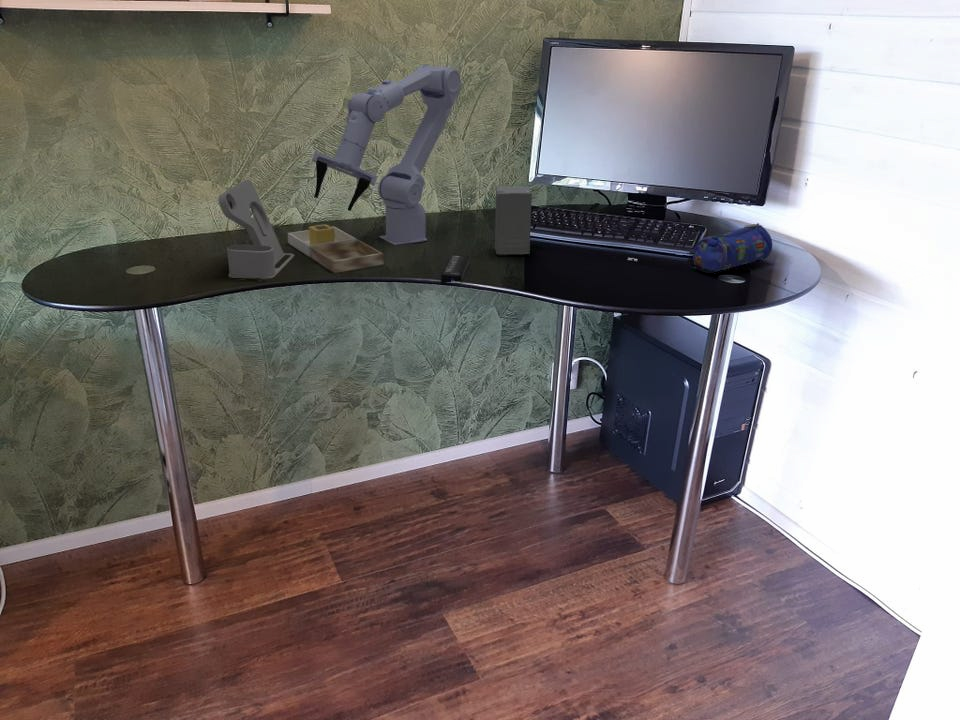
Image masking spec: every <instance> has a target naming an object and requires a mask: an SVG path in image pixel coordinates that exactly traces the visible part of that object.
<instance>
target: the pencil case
mask: <svg viewBox="0 0 960 720" xmlns="http://www.w3.org/2000/svg"><path fill="white" fill-rule="evenodd" d="M772 250H773V240H772V237H771V234H770V233H769V232H768V231H767V229H766V228H765V227H763V225H760V223H758V222H757V223H753V224H749V225H744V227H741V228H739V229H734V230H731V231H728V232H726V233H723V234H717V235H711V236H707V237H706V236H705V237H703V238H702V239H699V240H698V242H696V245H695V246H694V249H693V253H692V258H693V259H692V260H693V263H694V266H695V265H698V266H700V267H702V268H705V269H709V270H713V271H716V272H717V271H720V270H725V271H727V270H726V269H728V270H730V269H729V268H732V267H736V266H739V265H743V264H746V265H748V264H747V263H749V264H752V263H755V262H757V261H756V260H760V259H761V258H765V259H767V258H768V257H769V256H770V254H771V252H772ZM760 261H761V260H760ZM743 266H744V265H743ZM739 267H740V266H739ZM736 268H737V267H736ZM732 269H733V268H732ZM720 272H721V271H720Z"/></svg>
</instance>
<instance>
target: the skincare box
mask: <svg viewBox="0 0 960 720" xmlns="http://www.w3.org/2000/svg"><path fill="white" fill-rule="evenodd" d="M495 189H496V190H495V228H494V229H495V231H494V233H495V234H494V237H495V238H494V249H495V254H530V252H531V251H530V250H531V245H530V244H531V228H532V227H531V225H532V224H531V221H532V220H531V219H532V196H533V193H532V190H531V187H530V185H517V186H516V185H515V186H514V185H512V186H511V185H510V186H509V185H508V186H507V185H502V186H501V185H498V186H497V185H496V186H495ZM530 255H531V254H530Z"/></svg>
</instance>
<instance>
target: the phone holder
mask: <svg viewBox="0 0 960 720" xmlns="http://www.w3.org/2000/svg"><path fill="white" fill-rule="evenodd" d="M217 198H218V204H219V207H220V209H221V211H222V214H223V215H224V217H226V218H227V219H229V220H231V221H232V222H234V223H235V224H237V225H239V226H241V227H242V228H244V229H245V230H246V232H247V233H248V235H249V237H250V239H251V242H252V244H243V243H241V244H239V243H238V244H232V245H229V246H227V248H226V251H227V261H228V271H229V273H228V278H229V277H232V278H261V279H267V280H268V279H273V278H275V276H277V275H278V274H279V273H280V272H281V271H282V270H283V268H284V267H286V266H287V264H288V263H290V261H292V259H293V258H294V257H295V254H294V253H287V252H286V253H285V252H284V251H283V248H282V246H281V244H280V242H279V239H278V237H277V235H276V233H275V231H274V228H273V225H272V224H271V222H270V219H269V217H268V214H267V212H266V210H265V208H264V205H263V204H262V201H261V199H260V197H259V194H258V192H257V190H256V187H255V185H254V184H253V182H252V181H251V180H250V179H246V180H243V181H240V182H239V183H237V184H235V185H233V186H232V187H230V188H229V189H227V190H226V191H224V192H222V193H221V194H219V195H218V197H217ZM251 212H252V216H251ZM285 256H289V257H288V258H287V259H286V260H285V261H284V262H283V263H282V264H281V265H280V266H279V267H277V268H276V265H277V264H278V263H279V262H280V261H281V259H283V258H284V257H285Z"/></svg>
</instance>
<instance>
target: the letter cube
mask: <svg viewBox="0 0 960 720" xmlns="http://www.w3.org/2000/svg"><path fill="white" fill-rule="evenodd" d="M332 227H333V226H331V225H329V224H319V225H312V226H311V225H310V226H308V230H309V239H310V245H315V244H321V243H328V242H334V241H335V232H334V228H332Z"/></svg>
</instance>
